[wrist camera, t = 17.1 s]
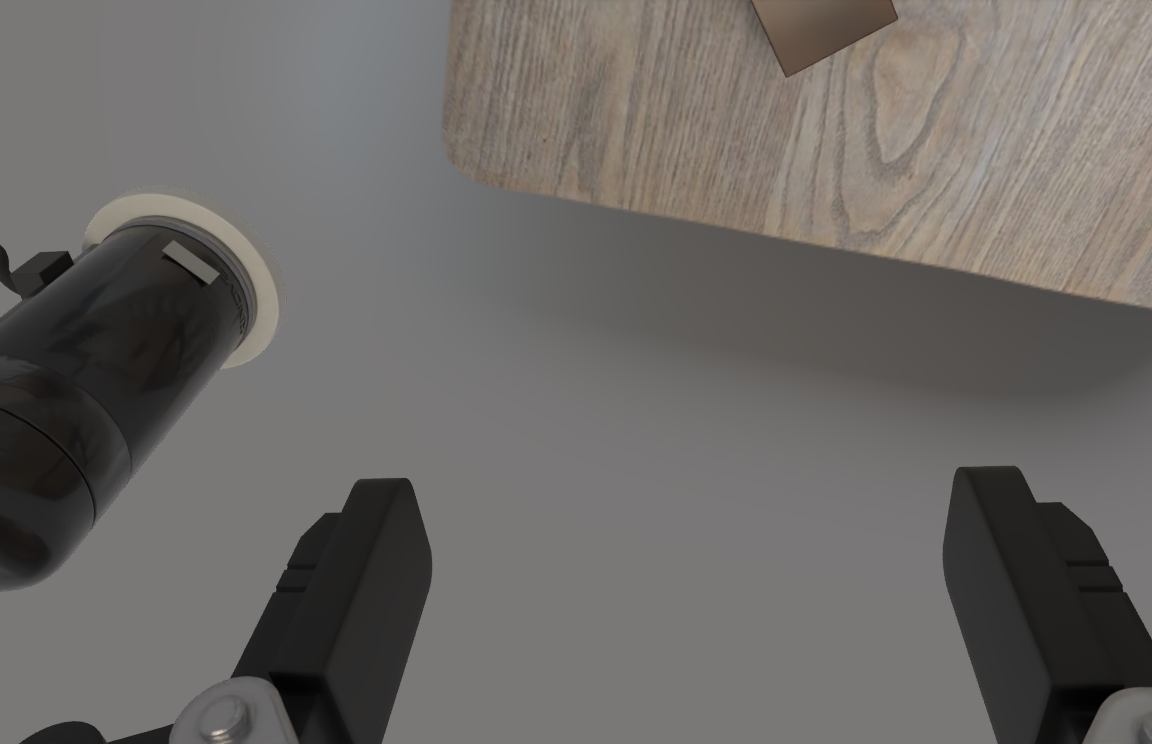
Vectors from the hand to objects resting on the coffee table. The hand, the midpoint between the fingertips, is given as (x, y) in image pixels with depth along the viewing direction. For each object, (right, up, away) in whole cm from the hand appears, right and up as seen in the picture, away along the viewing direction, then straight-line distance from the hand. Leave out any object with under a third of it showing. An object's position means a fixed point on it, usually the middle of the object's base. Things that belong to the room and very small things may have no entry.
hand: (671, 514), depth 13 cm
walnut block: (+9, +21, +27) cm, 36 cm away
